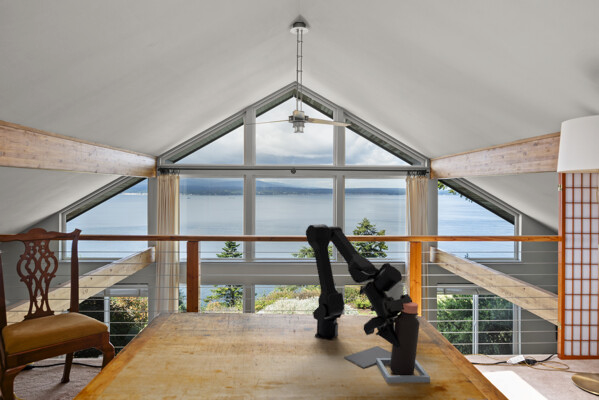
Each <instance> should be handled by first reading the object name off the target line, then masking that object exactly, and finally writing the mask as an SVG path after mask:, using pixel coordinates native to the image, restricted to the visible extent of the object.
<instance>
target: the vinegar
mask: <svg viewBox="0 0 599 400" xmlns="http://www.w3.org/2000/svg"><path fill="white" fill-rule="evenodd" d="M403 307H404V310H401V311H400V313H401V314H400V313H399V314H400V315H399V314H398V315H399V316H398V317H396V319H395V323H394V325H395V327H394V331H395V333H396V336H397V339H398V342H399V344H400V346H401V347H395V346H393V345H392V344H391V345H392V347H391V352H392V354H391V363H390V364H389V369H390V372H392V373H394V374H395V375H396V376H399V375H414V373H415V369H416V368H415V360H417V349H418V342H419V333H420V332H419V331H420V321H419V319H418V317H417V316H418V315H417V313H418V312H419V304H418V303H416V302H413V301H412V302H409V303H405V304H403ZM416 315H417V316H416ZM401 348H402V349H401Z"/></svg>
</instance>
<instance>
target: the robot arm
mask: <svg viewBox="0 0 599 400" xmlns="http://www.w3.org/2000/svg"><path fill="white" fill-rule="evenodd" d="M305 237H306V239H307V242H308V245H309V246H310V248H311V249H312V250H313V252H314V257H315V263H316V264H315V265H316V269H317V274H318V280H319V286H320V294H319V297H318V306H317V308H315V310H313V312H312V315H313V319H315V320H316V333H315V334H314V337H317V338H321V339H326V340H332V341H333V339H334V338H336V337H337V336H338V335H339V323H338V319H340V318H341V317H342V313H343V312H344V311H345V310H344V309H345V304H346V303H345V302H344V295H343V293H342V292H338V290H337V289H336V285H335V280H334V274H333V271H332V263H331V258H330V252H329V245H330V242H331V243H332V244H333V245H334V247H335V248H336V250H337V251H338V252H339V254H340V255H341V257H342V258H343V260H344V261H345V262H346V264H347V271H348V273H349V275H350V277H351V279H352V280H353V281H354V282H355V284H361V283H366V284H363V285H360V289H359V292H358V294H359V295H365V296H366V298H367V299H368V301H369V303H370V306H371V307H370V308H369V309H370V311H371V312H375V315H376V316H374V317H371V318H370V319H368V321H367V322H365V324H363V331H364V332H365V333H364V334H365V335H366V336H369V335H372V334H374V333H375V329H376V330H377V332H376V333H375V335H376V336H379V337H380V338H382V339H383V340H385V341H386V342H388V343H389V344H391V345H393V346H395V347H401V346H400V344H399V342H398V339H397V336H396V333H395V331H394V325H395V319H396V317H398V316H399V315H400V314H401V312H400V311H401V310H404V307H403V304H405V303H409V302H413V300H412V297H411V296H410V295H409V294H408V293H407V294H403V295H401V296H400V299H398V300H394V298H393V297H388V295H387V294H386V292H389V291H390V290H391V289H392V288H393V287H395V286H396V285H397V284H398V283H399V282H400V283H401V281H402V278H403V276H402V273H401V271H400V270H398V269H397V268H396V267H395V266H393V265H391V263H390V262H385V263H383V264H382V265H381V267H380V268H377V267H376V266H375V265H374V264H373V263H372V262H371V261H370V260H369V259H368V258H366V257H364V256H362V255H361V254H360V253H359V251H358V250H357V249H356V248H355V246H354V245H353V244H352V243H351V241H350V240H349V239H348V237H347V236H346V235H345V234H344V232H343V229H342V228H341V226H338V225H336V226H335V225H334V226H328V225H327V224H325V223H324V224H310V225H308V226H307V228H306V230H305ZM418 315H419V313H418V312H417V315H416V317H418ZM393 319H394V320H393ZM401 349H402V348H401Z"/></svg>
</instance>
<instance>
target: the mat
mask: <svg viewBox="0 0 599 400" xmlns="http://www.w3.org/2000/svg"><path fill="white" fill-rule="evenodd" d="M391 354H392V351H389V350H387V349H385V348H383V347H381V346H379V345H375V346H373V347H370V348H367V349H364V350H361V351H358V352H357V351H356V352H355V353H351V354H349V355H345V356H343V358H344V359H345V358H346V359H345V360H347V361H349V362H351V363H353V364H354V363H355V365H356V364H357V366H358V367H360V368H362V369H366V368H369V367H372V366H375V365H377V364H376V358H391Z"/></svg>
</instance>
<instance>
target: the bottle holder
mask: <svg viewBox="0 0 599 400" xmlns="http://www.w3.org/2000/svg"><path fill="white" fill-rule="evenodd" d="M390 363H391V358H376V364H375V365H376V366H377V367H378V369H379V372H381V374H382V376H383V378H384V379H385V381H386V383H388V384H390V383H391V384H394V383H400V384H401V383H431V376H430V375H429V374H428V373H427V371H426V370H425V369H424V367H423V366H422V365H421V363H420V362H419V361H418V360H417V359H416V360H415V368H414V369H415V370H416V371H417V372H418V375H417V374H416V375H414V374H413V375H390V374H389V371H388V370H387V368H386V367H385V365H390Z"/></svg>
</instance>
